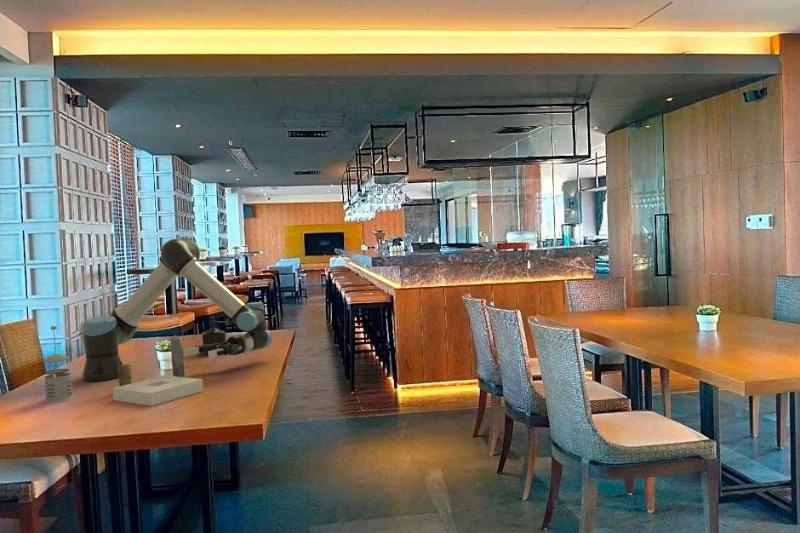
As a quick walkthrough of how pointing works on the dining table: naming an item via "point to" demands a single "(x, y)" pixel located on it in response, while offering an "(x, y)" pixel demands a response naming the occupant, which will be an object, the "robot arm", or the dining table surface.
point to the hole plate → (157, 390)
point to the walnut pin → (124, 374)
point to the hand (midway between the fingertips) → (196, 354)
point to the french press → (57, 379)
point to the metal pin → (177, 357)
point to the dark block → (214, 334)
